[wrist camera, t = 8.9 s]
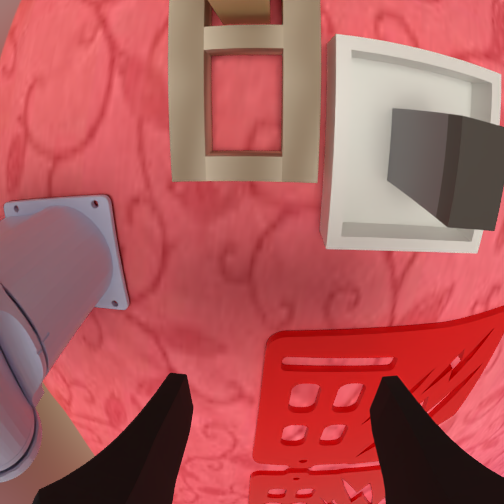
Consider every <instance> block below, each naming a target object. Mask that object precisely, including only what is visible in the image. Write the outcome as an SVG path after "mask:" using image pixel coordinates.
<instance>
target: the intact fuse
mask: <svg viewBox="0 0 504 504" xmlns="http://www.w3.org/2000/svg"><path fill="white" fill-rule="evenodd" d="M208 1H209V3H210V4H211V6H212V8H213V9H214V11H215V12H216V14H217V16H218V17H219V19H220V20H221V22H222V24H223V25H227V24H270V0H208Z"/></svg>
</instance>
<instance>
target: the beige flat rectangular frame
mask: <svg viewBox="0 0 504 504" xmlns="http://www.w3.org/2000/svg"><path fill="white" fill-rule="evenodd" d="M211 25H212V6H211V4H210V3H209V1H208V0H169V28H168V98H169V130H170V152H171V170H172V182H180V181H271V182H304V183H317V181H318V162H319V139H320V108H321V12H320V0H282V25H225V26H211ZM221 55H282V121H281V151H212V99H211V56H221Z"/></svg>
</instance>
